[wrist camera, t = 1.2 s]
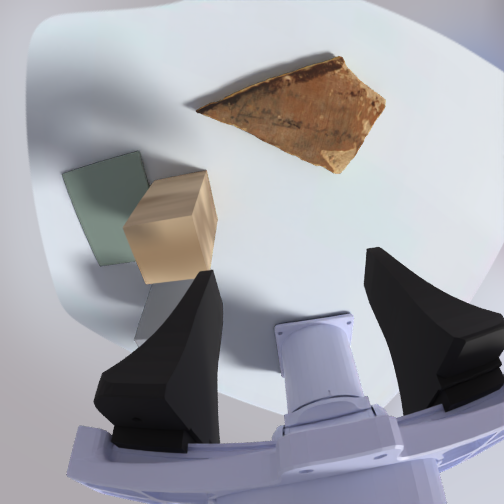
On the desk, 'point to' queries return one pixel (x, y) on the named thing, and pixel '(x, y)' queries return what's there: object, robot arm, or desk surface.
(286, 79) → the shard
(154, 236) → the oak block
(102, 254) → the mat
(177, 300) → the grey block
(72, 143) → the desk surface
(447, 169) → the desk surface
